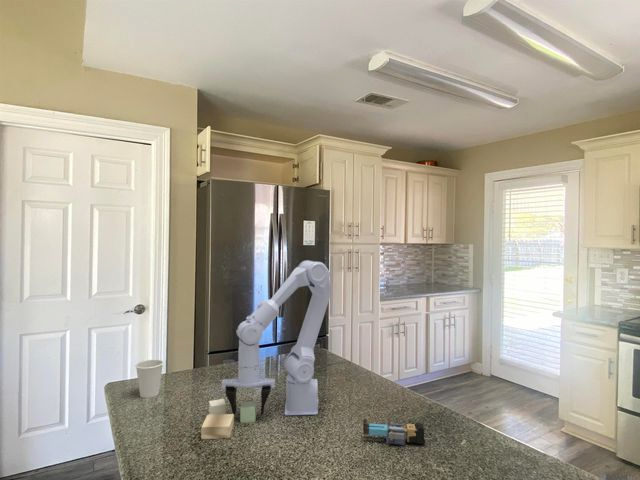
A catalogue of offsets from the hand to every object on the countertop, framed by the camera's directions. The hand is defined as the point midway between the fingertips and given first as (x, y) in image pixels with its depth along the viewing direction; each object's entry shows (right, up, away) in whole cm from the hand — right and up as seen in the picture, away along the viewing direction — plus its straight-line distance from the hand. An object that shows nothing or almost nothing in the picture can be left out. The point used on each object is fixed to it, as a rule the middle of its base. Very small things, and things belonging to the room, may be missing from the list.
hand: (248, 413), depth 108 cm
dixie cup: (-35, -2, +17) cm, 39 cm away
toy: (+38, -2, -12) cm, 40 cm away
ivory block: (-9, -2, +1) cm, 9 cm away
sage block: (0, -2, 0) cm, 2 cm away
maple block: (-6, -2, -7) cm, 10 cm away
